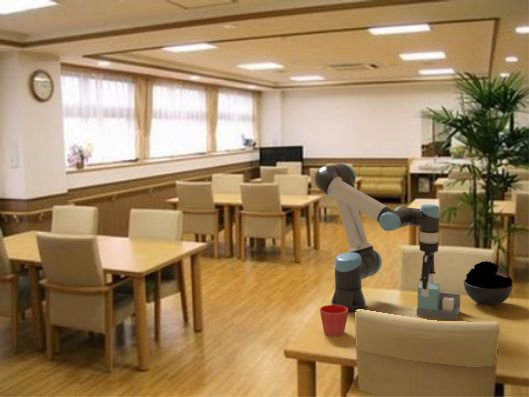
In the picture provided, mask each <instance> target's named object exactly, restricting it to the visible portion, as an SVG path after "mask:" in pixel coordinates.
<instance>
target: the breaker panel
mask: <svg viewBox="0 0 529 397" xmlns="http://www.w3.org/2000/svg"><path fill="white" fill-rule="evenodd" d="M444 297H446V298H454V310H453V311H451V310H443V298H444ZM460 312H461V293H459V292H451V291H450V292H449V291H441V290H440V306H439V308H438V310H429V309H420V308H418V306H417V308H416V316H417V317H419V316H420V317H425V316H427V318H433V319H434V318H435V319H440V320H441V319H443V320H450V321H451V320H452V321H457V320H458V318H459V316H460Z"/></svg>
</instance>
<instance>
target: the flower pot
mask: <svg viewBox="0 0 529 397" xmlns="http://www.w3.org/2000/svg"><path fill="white" fill-rule="evenodd" d="M319 312H320V318H321V324H322V329H323V333H324V334H325V335H327V336H330V337H340V336H343V335H344V334H345V331H346V330H345V329H346V325H347V320H348V314H349V312H348V308H346V307H344V306H340V305H331V304H327V305H323V306H321V307H320V308H319Z"/></svg>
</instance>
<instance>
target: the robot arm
mask: <svg viewBox="0 0 529 397" xmlns="http://www.w3.org/2000/svg"><path fill="white" fill-rule="evenodd" d="M356 180H357V176H356V173H355V170H354V169H353V167H351V166H350V165H348V164H346V163H337V164H331V165H330V164H329V165H324V166H321V167H319V168H318V169H317V170H316V173H315V175H314V183H315V186H316V187H317V189H318V190H319V191H320V192H322V193H323V194H325V195H326V196H329V197H331V198H332V197H333V198H334V200H335V202H336V205H337V209H338V212H339V215H340V219H341V222H342V225H343V228H344V232H345V235H346V239H347V242H348V245H349V249H348V251H347V252H343V253H340V254H338V255H336V257H335V259H334V293H333V294H332V295H333V296H332V299H331V301H330V302H331V303H330V305H340V306H344V307H346V308H348V313H349V312H350V313H351V312H352V313H353V312H356V311H355V310H357V309H363V310H364V309H366V306H367V304H366V303H367V302H366V299H365V296H364V292H363V289H362V282H363V281H362V280H364V279H366V278H369V277H373V276H374V275H375V274H377V273H378V272H380V270H381V267H382V264H383V263H382V261H383V260H382V257H381V255H380V253H379V252H377V250H376V249H375V248H374V246H373V244H371V243H369V241H368V238H367V236H366V231H365V229H364V225H363V222H362V218H361V214H360V212H361V213H362V214H363V215H366V217H369V218H371V219H372V220H374V221H376V222H378V223H379V224H378V225H379V226H380V227H381V229H382V230H384V231H385V232H386V231H387V232H389V231H396V230H398V229H401V228H404V227H407V226H414V227H419V229H420V230H419V241H420V242H419V251H421V252H424V254H423V255H422V266H421V274H420V275H421V277H420V279H419V281H420V282H422V289H421V296H425V297H428V290H429V283H433V284H434V275H435V274H436V271H435V253H437V252H439V243H438V242H439V238H440V237H441V234H440V230H439V229H440V218H441V216H440V213H441V212H440V206H439V205H437V204H422V205H421V206H420V208H415V207H406V206H397V207H395V208H394V209H392V208H391V207H389V206H387V205H385V204H383V203H381V202H380V201H379V200H377V199H375V198H373V197H371V196H369V195H368V194H366V193H364V192H362V191H360V190H359V189H357V188H356V187H355V183H356Z"/></svg>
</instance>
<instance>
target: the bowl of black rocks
mask: <svg viewBox="0 0 529 397" xmlns="http://www.w3.org/2000/svg"><path fill="white" fill-rule="evenodd" d="M499 268H500V266H499V265H498V264H496V263H495V262H492V261H488V260H484V261H480V262H478V263H476V264H474V265H473V268H471V269H470V270H469V271H468V273H467V274H466V276H465V279H464V280H463V287H464V291H465V292H466V294H467V296H468V297H469V298H470V299H471V300H472V301H473V302H475V303H477V304H479V305H481V306H485V307H486V306H487V307H489V306H490V307H493V306H498V305H500V304H502V303H504V302H505V301H506V300H507V299H509V297H510V295H512V291H513V286H514V284H513V280H512V277H510V276H506V277H505V276H503V275H501V274H497V272H498V269H499Z"/></svg>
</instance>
